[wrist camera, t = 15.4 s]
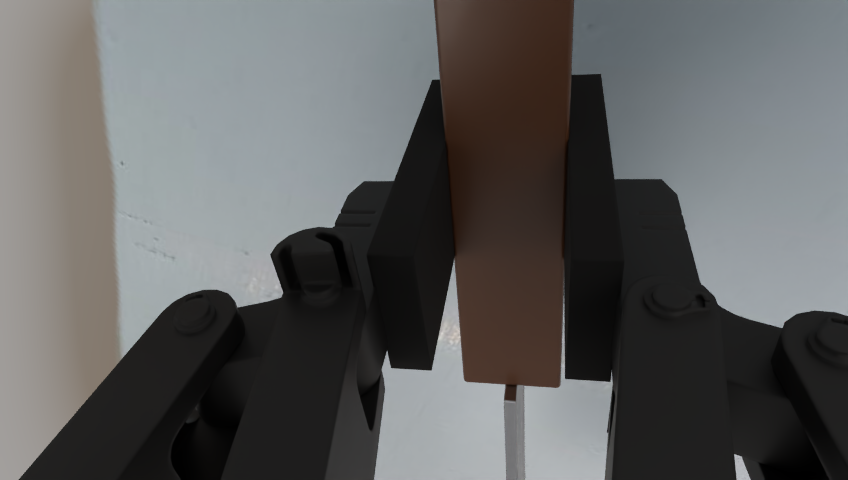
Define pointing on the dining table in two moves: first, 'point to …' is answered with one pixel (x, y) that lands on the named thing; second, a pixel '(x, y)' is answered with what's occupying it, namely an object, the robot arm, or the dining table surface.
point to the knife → (508, 190)
